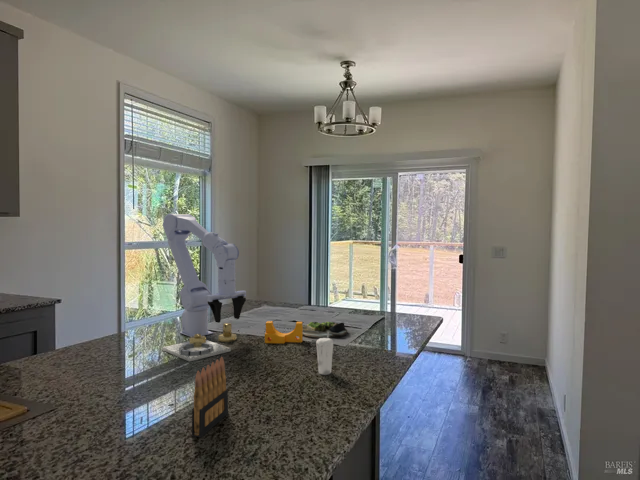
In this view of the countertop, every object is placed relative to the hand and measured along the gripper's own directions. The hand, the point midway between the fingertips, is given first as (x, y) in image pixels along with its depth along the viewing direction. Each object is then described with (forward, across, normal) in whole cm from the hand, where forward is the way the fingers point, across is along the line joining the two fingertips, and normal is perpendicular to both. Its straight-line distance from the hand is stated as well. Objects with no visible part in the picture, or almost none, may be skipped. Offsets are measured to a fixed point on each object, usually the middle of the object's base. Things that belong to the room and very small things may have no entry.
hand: (227, 320), depth 146 cm
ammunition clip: (+7, -38, -50) cm, 63 cm away
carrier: (+7, -14, -4) cm, 16 cm away
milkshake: (+7, -1, -46) cm, 46 cm away
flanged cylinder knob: (+7, 0, 0) cm, 7 cm away
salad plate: (+7, +30, -17) cm, 35 cm away
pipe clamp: (+7, +12, -16) cm, 21 cm away
